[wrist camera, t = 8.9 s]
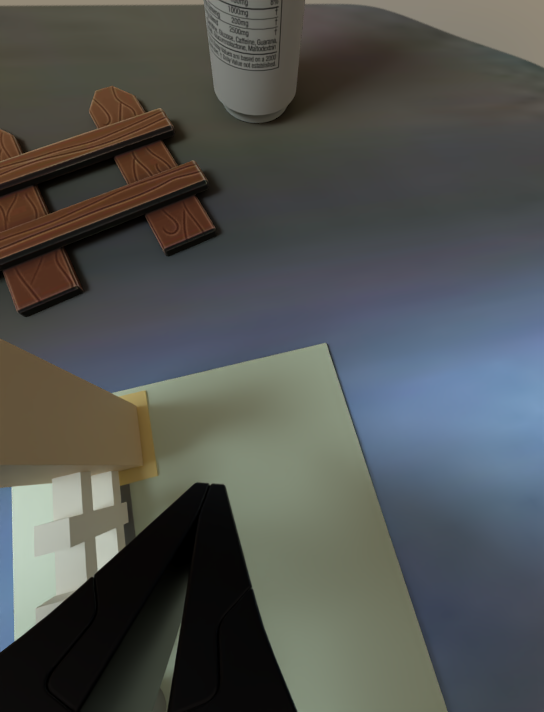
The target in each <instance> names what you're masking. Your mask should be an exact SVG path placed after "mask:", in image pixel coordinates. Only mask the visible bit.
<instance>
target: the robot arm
mask: <svg viewBox="0 0 544 712" xmlns="http://www.w3.org/2000/svg"><path fill="white" fill-rule="evenodd" d="M180 624H181V628H180V634H179V640H178V646H177V653H176V659H175V665H174V672H173V678H172V684H171V690H170V697H169V703H168V709H167V712H298V711H297V709H296V706H295V704H294V702H293V699H292V697H291V694H290V692H289V689H288V687H287V684H286V682H285V680H284V677H283V675H282V672H281V670H280V667H279V665H278V662H277V660H276V658H275V655H274V652H273V650H272V647H271V644H270V642H269V639H268V636H267V633H266V631H265V628H264V625H263V621H262V618H261V615H260V612H259V608H258V605H257V601H256V597H255V594H254V590H253V589H252V584H251V580H250V576H249V572H248V569H247V565H246V561H245V557H244V554H243V550H242V546H241V542H240V539H239V535H238V531H237V527H236V523H235V520H234V516H233V512H232V508H231V504H230V501H229V497H228V493H227V489H226V486H225V485H224V484H215V483H212V484H211V485H210V484H209V483H201V482H196V483H194V484H193V485H192V486H191V487H190V488H189V489H188V490H187V491H185V492H184V493H183V494H182V495H181V496H180V497H179V498H178V499H177V500H176V501H174V502H173V503H172V504H171V505H170V506H169V507H168V508H167V509H166V510H165V511H163V512H162V513H161V514H160V515H159V516H158V517H157V518H156V519H155V520H154V521H153V522H151V523H150V524H149V525H148V526H147V527H146V528H145V529H144V530H143V531H142V532H140V533H139V534H138V535H137V536H136V537H135V538H134V539H133V540H132V541H131V542H129V543H128V544H127V545H126V546H125V547H124V548H123V549H122V550H121V551H120V552H118V553H117V554H116V555H115V556H114V557H113V558H112V559H111V560H110V561H109V562H107V563H106V564H105V565H104V566H103V567H102V568H101V569H100V570H99V571H98V572H96V573H95V574H94V577H90V578H89V579H88V580H87V581H86V582H85V583H84V584H83V585H81V586H80V587H79V588H78V589H77V590H76V591H75V592H74V593H72V594H71V595H70V596H69V597H68V598H67V599H66V600H64V601H63V602H62V603H61V604H60V605H59V606H58V607H56V608H55V609H54V610H53V611H52V612H51V613H49V614H48V615H47V616H46V617H44V618H43V619H42V620H41V621H39V622H38V623H37V624H36V625H34V626H33V627H32V628H31V629H30V630H28V631H27V632H26V633H25V634H23V635H22V636H21V637H20V638H18V639H17V640H16V641H14V642H13V643H12V644H11V645H9V646H8V647H7V648H5V649H4V650H3V651H2V652H0V712H152V711H153V708H154V705H155V702H156V699H157V696H158V692H159V689H160V686H161V683H162V680H163V677H164V674H165V671H166V668H167V665H168V661H169V658H170V655H171V652H172V649H173V646H174V643H175V640H176V637H177V633H178V630H179V627H180Z"/></svg>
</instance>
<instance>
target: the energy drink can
mask: <svg viewBox="0 0 544 712" xmlns="http://www.w3.org/2000/svg"><path fill="white" fill-rule="evenodd" d="M304 6H305V0H204V7H205V15H206V24H207V32H208V41H209V49H210V58H211V66H212V75H213V83H214V90H215V93H216V95H217V97H218V99H219V100H220V101H221V102H222V103H223V104H224V107H225V108H226V110H227V111H228V112H229V113H230V114H231V115H232V116H234V117H235V118H237V119H239V120H242V121H245V122H250V123H263V122H268V121H271V120H274V119H276V118H277V117H279V116H280V115H281V114H282V113H283V112H284V111H285V109H286V107H287V105H288V104H290V102H291V101H292V100H293V98H294V96H295V94H296V86H297V76H298V66H299V56H300V46H301V36H302V26H303V16H304Z"/></svg>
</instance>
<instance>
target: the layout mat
mask: <svg viewBox="0 0 544 712" xmlns="http://www.w3.org/2000/svg"><path fill="white" fill-rule="evenodd" d="M112 394H114V395H116V396H118V397H120V398H122V399H124V400H126V401H128V402H130V403H132V404H134V405H136V407H137V415H138V424H139V432H140V441H141V449H142V458H143V466H139V467H135V468H130V469H126V470H122V471H118V473H119V483H120V494H121V503H124V502H127V510H128V520H129V522H128V523H126V524H124V536H125V546H126V545H127V544H128V543H129V542H131V541H132V540H133V539H134V538H135V537H136V536H137V535H138V534H139V533H140V532H142V531H143V530H144V529H145V528H146V527H147V526H148V525H149V524H150V523H151V522H153V521H154V520H155V519H156V518H157V517H158V516H159V515H160V514H161V513H162V512H163V511H165V510H166V509H167V508H168V507H169V506H170V505H171V504H172V503H173V502H174V501H176V500H177V499H178V498H179V497H180V496H181V495H182V494H183V493H184V492H185V491H187V490H188V489H189V488H190V487H191V486H192V485H193V484H194V483H196V482H201V483H209V484H210V485H211V484H212V483H215V484H224V485H225V486H226V489H227V493H228V497H229V501H230V504H231V508H232V512H233V516H234V520H235V523H236V527H237V531H238V535H239V539H240V542H241V546H242V550H243V554H244V557H245V561H246V565H247V569H248V572H249V576H250V580H251V584H252V589H253V590H254V594H255V597H256V601H257V605H258V608H259V612H260V615H261V618H262V621H263V625H264V628H265V631H266V633H267V636H268V639H269V642H270V644H271V647H272V650H273V652H274V655H275V658H276V660H277V662H278V665H279V667H280V670H281V672H282V675H283V677H284V680H285V682H286V684H287V687H288V689H289V692H290V694H291V697H292V699H293V702H294V704H295V706H296V709H297V711H298V712H448V711H447V708H446V705H445V702H444V699H443V696H442V693H441V690H440V687H439V684H438V681H437V678H436V675H435V672H434V669H433V665H432V662H431V659H430V656H429V653H428V650H427V647H426V644H425V641H424V638H423V635H422V632H421V629H420V626H419V623H418V620H417V617H416V614H415V611H414V608H413V605H412V602H411V599H410V596H409V593H408V590H407V587H406V584H405V581H404V578H403V575H402V572H401V569H400V565H399V562H398V559H397V556H396V553H395V550H394V547H393V544H392V541H391V538H390V535H389V532H388V529H387V526H386V523H385V520H384V517H383V514H382V511H381V508H380V505H379V502H378V499H377V496H376V493H375V490H374V487H373V484H372V481H371V478H370V475H369V472H368V469H367V466H366V462H365V459H364V456H363V453H362V450H361V447H360V444H359V441H358V438H357V435H356V432H355V429H354V426H353V423H352V420H351V417H350V414H349V411H348V408H347V405H346V402H345V399H344V396H343V393H342V390H341V387H340V384H339V381H338V378H337V375H336V372H335V369H334V366H333V363H332V359H331V356H330V353H329V350H328V347H327V344H326V343H323V344H319V345H315V346H311V347H306V348H302V349H298V350H294V351H289V352H285V353H281V354H277V355H272V356H268V357H264V358H260V359H255V360H251V361H247V362H243V363H238V364H234V365H230V366H225V367H221V368H217V369H213V370H208V371H204V372H200V373H196V374H191V375H187V376H183V377H179V378H174V379H170V380H166V381H162V382H157V383H153V384H149V385H145V386H140V387H136V388H132V389H128V390H123V391H119V392H115V393H112ZM53 521H54V520H53V493H52V483H50V484H38V485H26V486H14V487H12V527H13V582H14V637H15V641H16V640H17V639H18V638H20V637H21V636H22V635H23V634H25V633H26V632H27V631H28V630H30V629H31V628H32V627H33V626H34V625H36V613H35V608H37V607H38V606H40V605H41V604H43V603H45V602H46V601H48V600H49V599H51V598H52V597H54V596H56V575H55V552H53V553H49V554H45V555H41V556H38V557H34V526H38V525H42V524H45V523H49V522H53ZM180 628H181V624H180V627H179V630H178V633H177V637H176V640H175V643H174V646H173V649H172V652H171V655H170V658H169V661H168V665H167V668H166V671H165V674H164V677H163V680H162V683H161V686H160V688H161V690H162V692H163V694H164V697H165V700H166V712H167V709H168V703H169V697H170V690H171V684H172V678H173V672H174V665H175V659H176V653H177V646H178V640H179V634H180Z"/></svg>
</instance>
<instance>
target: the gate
mask: <svg viewBox="0 0 544 712" xmlns="http://www.w3.org/2000/svg"><path fill="white" fill-rule="evenodd" d="M139 466H143V458H142V449H141V441H140V432H139V424H138V415H137V407H136V405H134V404H132V403H130V402H128V401H126V400H124V399H122V398H120V397H118V396H116V395H114V394H112V393H110V392H108V391H106V390H104V389H102V388H100V387H97V386H95V385H93V384H91V383H89V382H87V381H85V380H83V379H81V378H79V377H77V376H75V375H73V374H71V373H69V372H67V371H65V370H63V369H61V368H59V367H57V366H55V365H53V364H51V363H49V362H47V361H45V360H43V359H41V358H39V357H37V356H35V355H33V354H30V353H28V352H26V351H24V350H22V349H20V348H18V347H16V346H14V345H12V344H10V343H8V342H6V341H4V340H2V339H0V488H3V487H14V486H26V485H38V484H50V483H52V493H53V520H54V521H53V522H49V523H45V524H42V525H38V526H34V557H38V556H41V555H45V554H49V553H53V552H55V575H56V596H54V597H52V598H51V599H49V600H48V601H46V602H45V603H43V604H41V605H40V606H38V607H37V608H35V613H36V624H37V623H38V622H39V621H41V620H42V619H43V618H44V617H46V616H47V615H48V614H49V613H51V612H52V611H53V610H54V609H55V608H56V607H58V606H59V605H60V604H61V603H62V602H63V601H64V600H66V599H67V598H68V597H69V596H70V595H71V594H72V593H74V592H75V591H76V590H77V589H78V588H79V587H80V586H81V585H83V584H84V583H85V582H86V581H87V580H88V579H89V578H90V577H94V574H95V573H96V572H98V571H99V570H100V569H101V568H102V567H103V566H104V565H105V564H106V563H107V562H109V561H110V560H111V559H112V558H113V557H114V556H115V555H116V554H117V553H118V552H120V551H121V550H122V549H123V548H124V547H125V536H124V524H126V523H128V522H129V520H128V510H127V502H124V503H121V494H120V483H119V473H118V471H122V470H126V469H130V468H135V467H139Z"/></svg>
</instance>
